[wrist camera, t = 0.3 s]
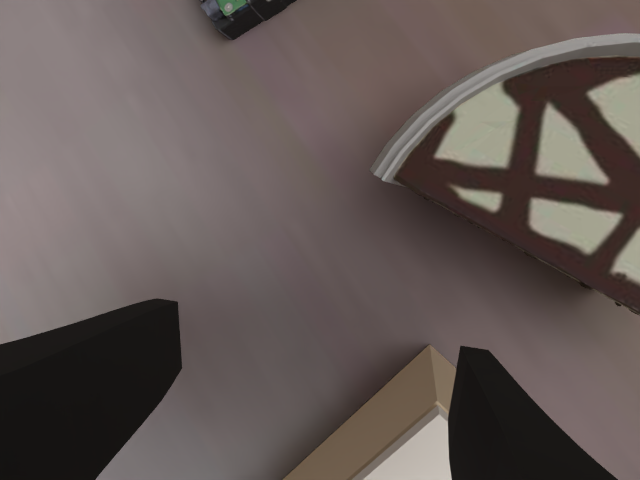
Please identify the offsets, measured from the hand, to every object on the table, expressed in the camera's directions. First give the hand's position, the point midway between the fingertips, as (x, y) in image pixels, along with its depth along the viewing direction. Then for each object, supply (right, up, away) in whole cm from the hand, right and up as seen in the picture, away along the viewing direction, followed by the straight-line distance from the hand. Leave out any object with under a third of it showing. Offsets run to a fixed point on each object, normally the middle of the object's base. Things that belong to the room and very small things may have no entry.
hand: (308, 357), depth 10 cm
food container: (+10, +6, +8) cm, 14 cm away
